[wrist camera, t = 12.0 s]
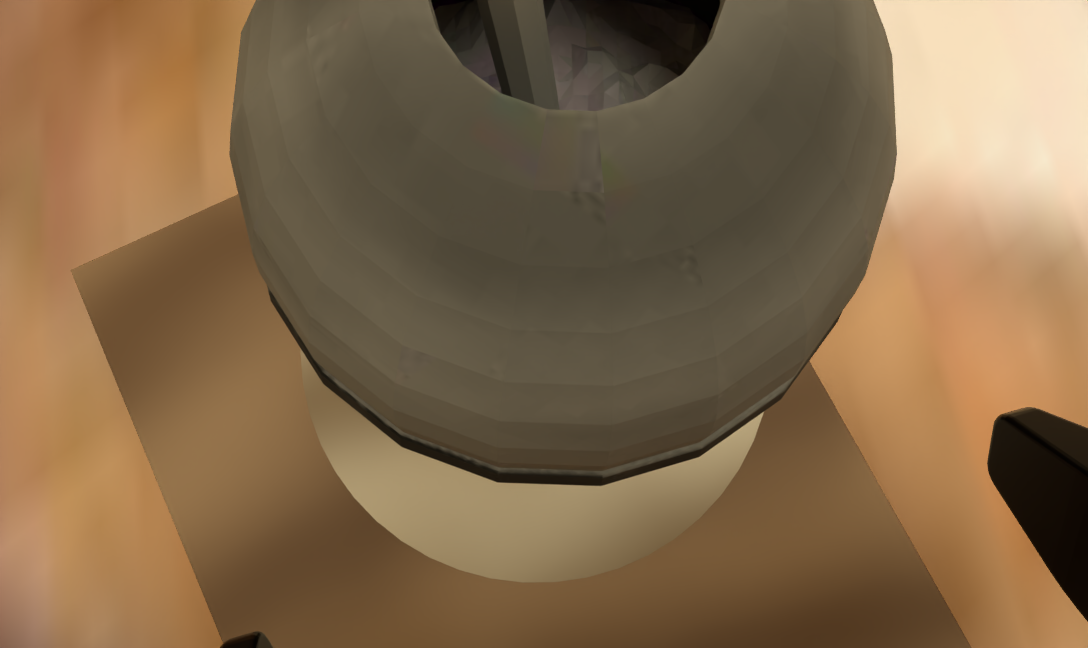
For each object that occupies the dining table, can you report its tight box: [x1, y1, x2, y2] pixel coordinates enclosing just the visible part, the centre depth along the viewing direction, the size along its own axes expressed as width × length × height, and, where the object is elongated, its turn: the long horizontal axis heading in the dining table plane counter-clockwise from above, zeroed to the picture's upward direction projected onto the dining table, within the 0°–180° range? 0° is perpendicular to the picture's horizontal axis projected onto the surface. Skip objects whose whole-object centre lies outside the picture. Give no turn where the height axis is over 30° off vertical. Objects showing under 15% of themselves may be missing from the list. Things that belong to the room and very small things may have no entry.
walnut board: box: [71, 194, 971, 648], centre depth 21 cm, size 20×16×1 cm
